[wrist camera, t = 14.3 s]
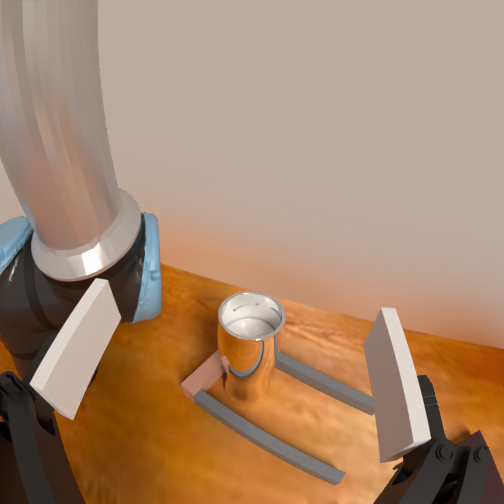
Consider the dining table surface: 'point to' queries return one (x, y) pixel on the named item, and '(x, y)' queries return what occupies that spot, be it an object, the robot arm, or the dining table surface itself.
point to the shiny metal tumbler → (249, 343)
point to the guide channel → (209, 376)
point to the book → (488, 475)
